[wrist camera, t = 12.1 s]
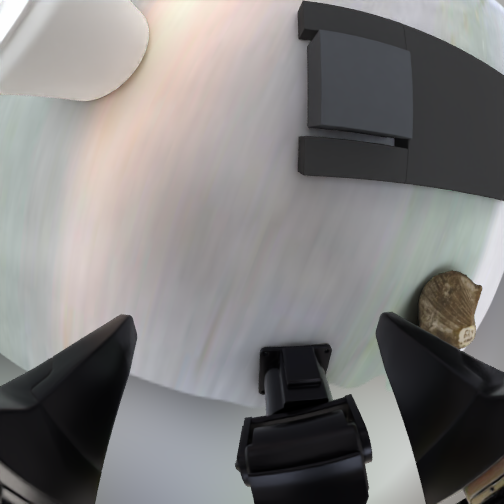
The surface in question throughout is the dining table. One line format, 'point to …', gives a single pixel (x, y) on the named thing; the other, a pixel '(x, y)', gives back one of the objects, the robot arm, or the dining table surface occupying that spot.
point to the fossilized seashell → (449, 308)
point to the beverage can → (69, 47)
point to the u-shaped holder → (419, 113)
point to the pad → (359, 86)
